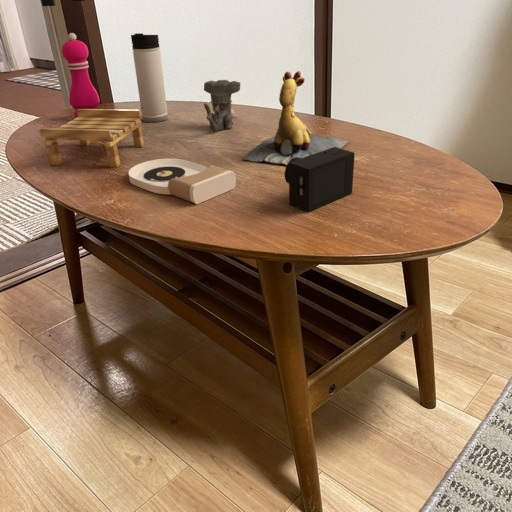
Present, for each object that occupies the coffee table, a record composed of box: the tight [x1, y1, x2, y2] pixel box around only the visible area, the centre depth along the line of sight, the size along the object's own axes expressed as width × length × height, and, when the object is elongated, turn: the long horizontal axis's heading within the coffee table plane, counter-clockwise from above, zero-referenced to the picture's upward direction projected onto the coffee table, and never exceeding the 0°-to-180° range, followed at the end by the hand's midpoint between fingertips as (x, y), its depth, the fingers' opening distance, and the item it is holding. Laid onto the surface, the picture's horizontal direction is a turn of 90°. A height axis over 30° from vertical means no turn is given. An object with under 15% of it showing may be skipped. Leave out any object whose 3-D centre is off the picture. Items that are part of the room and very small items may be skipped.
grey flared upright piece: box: [203, 79, 241, 132], centre depth 119 cm, size 14×18×10 cm
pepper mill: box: [61, 32, 101, 119], centre depth 126 cm, size 7×7×20 cm
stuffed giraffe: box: [241, 70, 350, 166], centre depth 100 cm, size 16×18×16 cm
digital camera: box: [284, 147, 355, 213], centre depth 81 cm, size 10×5×7 cm, turn 131°
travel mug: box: [130, 32, 169, 123], centre depth 123 cm, size 6×7×20 cm
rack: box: [39, 108, 145, 169], centre depth 103 cm, size 14×15×7 cm
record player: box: [128, 158, 237, 205], centre depth 90 cm, size 12×3×20 cm
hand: (64, 3), depth 118 cm, fingers open, 13 cm apart
